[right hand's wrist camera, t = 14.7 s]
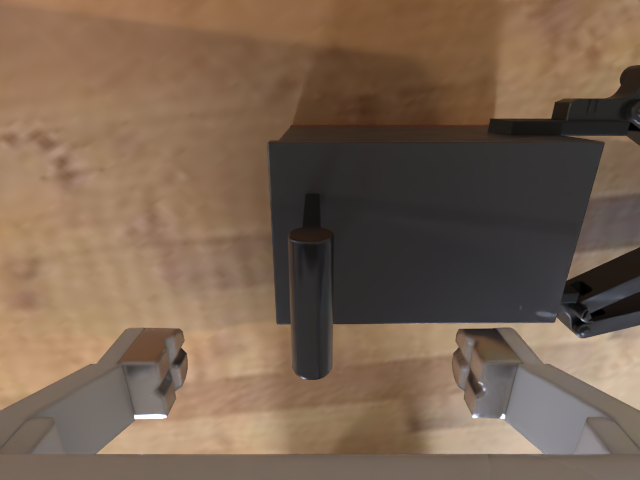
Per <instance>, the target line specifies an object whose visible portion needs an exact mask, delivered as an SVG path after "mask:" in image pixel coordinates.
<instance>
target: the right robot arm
mask: <svg viewBox="0 0 640 480" xmlns="http://www.w3.org/2000/svg"><path fill="white" fill-rule="evenodd" d="M184 341H185V340H184V336H183V331H182V330H181V329H175V328H128V329H126V330H125V331H124V332H123V333H122V334H121V335H120V337H119V338H118V339H117V340H116V341H115V342H114V344H113V345H112V346H111V347H110V348H109V350H108V351H107V352H106V353H105V354H104V355H103V357H102V358H101V359H100V360H99V361H98V363H97V364H90V365H88V366H86V367H84V368H82V369H80V370H78V371H76V372H74V373H72V374H70V375H69V376H67V377H65V378H63V379H61V380H59V381H57V382H55V383H53V384H51V385H49V386H47V387H45V388H43V389H41V390H39V391H38V392H36V393H34V394H32V395H30V396H28V397H26V398H24V399H22V400H20V401H18V402H16V403H14V404H12V405H10V406H8V407H7V408H5V409H3V410H1V411H0V480H640V411H639V410H637V409H635V408H633V407H631V406H629V405H627V404H625V403H624V402H622V401H620V400H618V399H616V398H614V397H612V396H610V395H608V394H606V393H604V392H602V391H600V390H598V389H597V388H595V387H593V386H591V385H589V384H587V383H585V382H583V381H581V380H579V379H577V378H575V377H573V376H571V375H570V374H568V373H566V372H564V371H562V370H560V369H558V368H556V367H554V366H552V365H550V364H543V363H542V361H541V360H540V359H539V358H538V357H537V355H536V354H535V353H534V352H533V351H532V350H531V348H530V347H529V346H528V345H527V344H526V343H525V341H524V340H523V339H522V338H521V337H520V335H519V334H518V333H517V332H516V331H515V330H514V329H512V328H493V329H459V330H458V332H457V335H456V340H455V341H456V343H457V345H458V346H459V348H458V349H457V350H456V351H455V352H454V353H453V360H452V367H453V374H454V378H455V381H456V383H457V385H458V387H460V388H461V389H462V390H464V391H465V395H464V400H465V402H466V404H467V406H468V408H469V410H470V412H471V414H472V416H473V418H505V421H506V422H508V423H509V424H510V425H511V426H512V427H514V428H515V429H516V430H517V431H518V432H519V433H521V434H522V435H523V436H524V437H525V438H526V439H528V440H529V441H530V442H531V443H532V444H533V445H535V446H536V447H537V448H538V449H539V450H540V451H542V452H543V453H544V454H96V453H97V452H99V451H100V450H101V449H102V448H103V447H104V446H106V445H107V444H108V443H109V442H110V441H111V440H113V439H114V438H115V437H116V436H117V435H118V434H120V433H121V432H122V431H123V430H124V429H125V428H127V427H128V426H129V425H130V424H131V423H133V422H134V421H135V418H167V416H168V414H169V412H170V410H171V408H172V406H173V404H174V402H175V400H176V395H175V391H176V390H178V389H179V388H180V387H182V385H183V383H184V381H185V378H186V374H187V369H188V359H187V353H186V352H185V351H184V350H183V349H182V348H181V346H182V345H183V343H184Z"/></svg>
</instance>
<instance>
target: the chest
mask: <svg viewBox="0 0 640 480" xmlns="http://www.w3.org/2000/svg"><path fill="white" fill-rule="evenodd" d="M488 129H489V125H291V126H290V128H289V129H288V131H287V132H286V133H285V134H284V135H283V136H282V137H281V139H280V140H279V141H318V140H588V139H581V138H575V137H568V136H562V135H506V134H501V133H495V132H490V131H488Z"/></svg>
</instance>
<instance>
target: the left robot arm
mask: <svg viewBox="0 0 640 480" xmlns="http://www.w3.org/2000/svg"><path fill="white" fill-rule="evenodd" d="M620 83H621V86H620V88H619V89H618V91H617V92H616V93H615V94H614V95H613V96H611V97H609V98H605V99H562V100H560V101H557V102H555V105H554V109H553V114H552V118H551V119H490V123H489V129H488V131H490V132H495V133H501V134H506V135H562V136H627V137H629V138H630V139H631V140H633V141H634V142H635V143H637V144H638V145H640V65H636V66H630V67H628V68H626V69H625V70H624V71H623V73H622V74H621V77H620ZM556 317H557V318H558V319H559V320H560V321H561V322H562V323H563V324H564V325H566V326H567V327H568V328H569V329H570V330H571V331H572V332H573V333H575V334H576V335H577V336H578V337H579V338H587V337H591V336H595V335H600V334H604V333H608V332H612V331H617V330H621V329H625V328H629V327H634V326H638V325H640V247H639V248H637V249H635V250H633V251H631V252H628V253H626V254H624V255H622V256H620V257H618V258H615V259H613V260H611V261H609V262H607V263H605V264H602V265H600V266H598V267H596V268H594V269H591V270H589V271H587V272H585V273H583V274H581V275H578V276H576V277H574V278H572V279H570V280H568V281H566V284H565V287H564V291H563V294H562V298H561V302H560V305H559V309H558V312H557V316H556Z"/></svg>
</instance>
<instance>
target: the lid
mask: <svg viewBox="0 0 640 480" xmlns="http://www.w3.org/2000/svg"><path fill="white" fill-rule="evenodd" d="M267 146H268V166H269V185H270V204H271V223H272V243H273V262H274V281H275V301H276V320H277V324H278V325H279V324H291V342H292V367H293V370H294V372H295V373H296V374H297V375H298V376H299V377H301V378H304V379H308V380H316V379H320V378H323V377H325V376H326V375H327V374H328V373H329V372H330V371H331V369H332V347H333V324H431V323H554V322H555V320H556V316H557V312H558V309H559V305H560V302H561V298H562V294H563V291H564V287H565V284H566V280H567V277H568V273H569V269H570V266H571V262H572V259H573V255H574V251H575V248H576V244H577V241H578V237H579V233H580V230H581V226H582V223H583V219H584V215H585V212H586V208H587V205H588V201H589V197H590V194H591V190H592V187H593V183H594V180H595V176H596V172H597V169H598V165H599V162H600V158H601V154H602V151H603V147H604V142H601V141H594V140H318V141H269V142H268V144H267Z"/></svg>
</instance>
